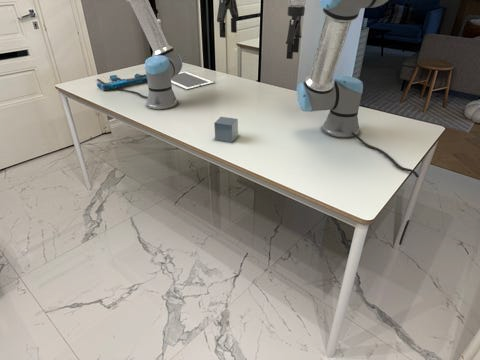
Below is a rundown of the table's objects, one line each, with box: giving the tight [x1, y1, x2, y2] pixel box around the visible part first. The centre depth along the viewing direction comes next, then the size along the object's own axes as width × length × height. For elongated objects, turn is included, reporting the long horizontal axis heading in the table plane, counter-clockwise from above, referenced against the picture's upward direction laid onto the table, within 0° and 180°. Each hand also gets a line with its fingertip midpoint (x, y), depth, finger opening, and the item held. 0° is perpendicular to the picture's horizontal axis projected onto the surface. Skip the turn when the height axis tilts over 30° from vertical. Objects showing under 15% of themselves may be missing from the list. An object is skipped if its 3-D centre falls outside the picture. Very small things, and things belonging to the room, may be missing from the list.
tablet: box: [171, 70, 215, 90], centre depth 212 cm, size 32×20×1 cm, turn 41°
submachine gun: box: [96, 73, 147, 91], centre depth 208 cm, size 34×4×25 cm
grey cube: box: [213, 116, 239, 143], centre depth 142 cm, size 8×7×8 cm
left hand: (228, 34), depth 164 cm, fingers open, 13 cm apart
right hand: (292, 55), depth 163 cm, fingers open, 13 cm apart
